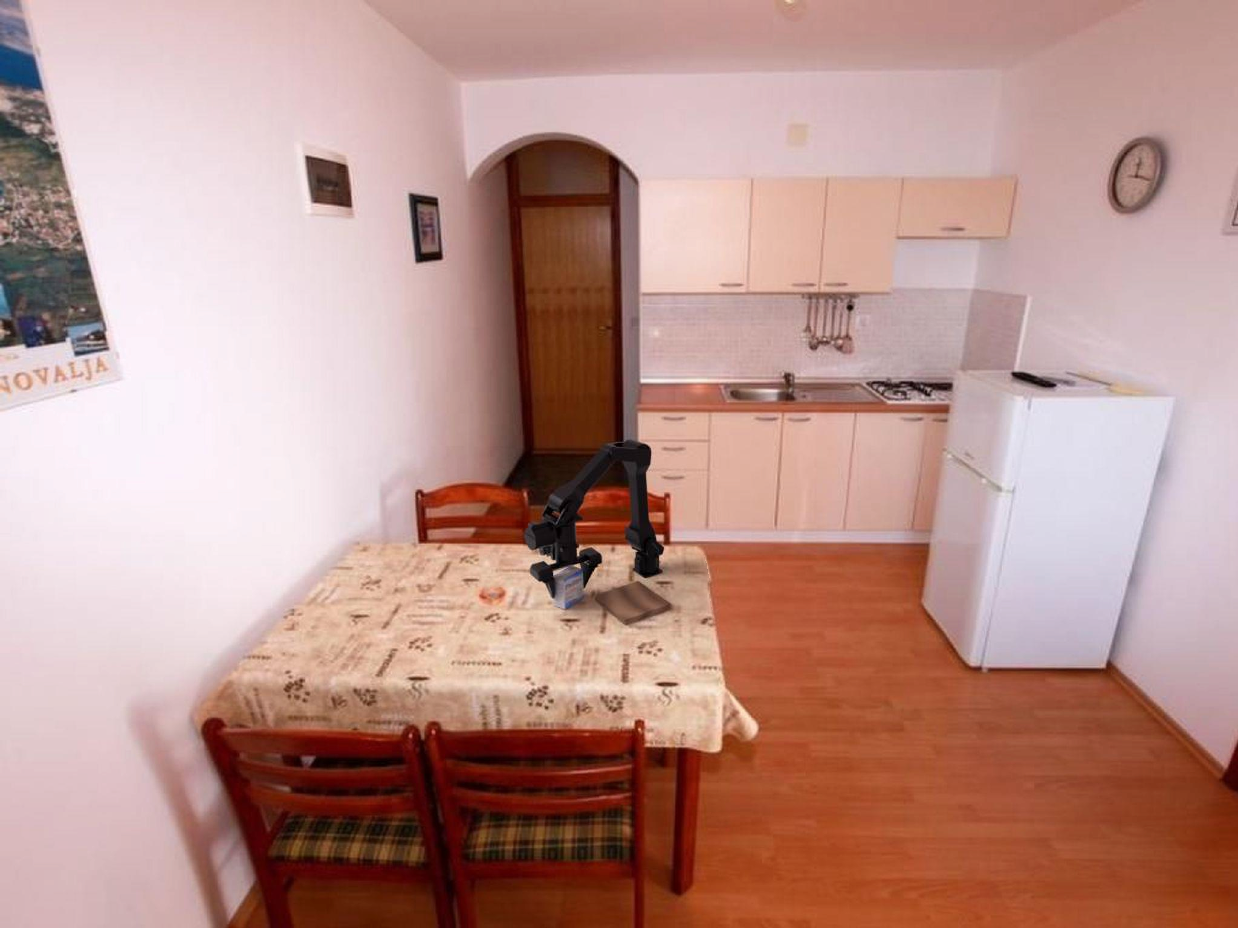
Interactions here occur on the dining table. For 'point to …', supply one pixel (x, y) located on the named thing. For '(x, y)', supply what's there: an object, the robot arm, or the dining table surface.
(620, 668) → the dining table surface
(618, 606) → the walnut board
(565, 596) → the medicine box
